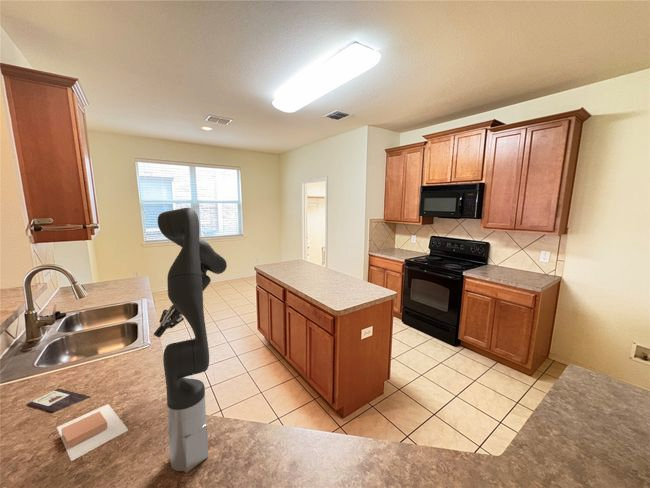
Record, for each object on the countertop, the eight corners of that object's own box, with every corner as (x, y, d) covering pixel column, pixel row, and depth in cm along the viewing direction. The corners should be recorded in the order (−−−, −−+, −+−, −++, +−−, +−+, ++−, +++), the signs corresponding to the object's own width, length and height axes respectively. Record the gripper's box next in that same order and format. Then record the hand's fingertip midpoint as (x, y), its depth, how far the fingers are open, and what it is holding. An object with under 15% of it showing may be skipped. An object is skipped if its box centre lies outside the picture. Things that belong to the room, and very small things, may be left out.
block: (107, 422, 81) (67, 441, 74) (107, 428, 81) (67, 449, 74) (99, 411, 86) (61, 428, 79) (99, 417, 86) (61, 435, 79)
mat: (128, 432, 81) (128, 430, 81) (71, 463, 70) (71, 461, 70) (108, 406, 93) (108, 404, 92) (56, 429, 82) (56, 427, 82)
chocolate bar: (60, 413, 88) (26, 403, 93) (61, 416, 88) (27, 406, 93) (90, 396, 97) (58, 388, 102) (90, 398, 97) (58, 390, 102)
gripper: (173, 288, 106) (140, 327, 97) (189, 293, 98) (155, 336, 89) (187, 298, 110) (156, 336, 101) (203, 303, 103) (172, 345, 94)
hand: (156, 336), depth 95 cm, fingers closed
